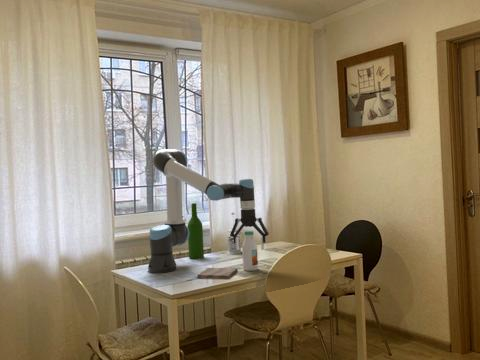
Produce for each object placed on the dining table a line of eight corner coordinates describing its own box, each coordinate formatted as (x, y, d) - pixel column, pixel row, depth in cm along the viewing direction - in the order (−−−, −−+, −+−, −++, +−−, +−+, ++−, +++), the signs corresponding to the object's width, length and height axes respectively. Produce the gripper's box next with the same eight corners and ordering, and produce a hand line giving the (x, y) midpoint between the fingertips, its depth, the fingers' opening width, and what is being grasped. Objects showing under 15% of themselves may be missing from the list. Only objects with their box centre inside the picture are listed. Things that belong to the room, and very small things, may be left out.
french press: (224, 252, 305) (222, 212, 304) (240, 250, 310) (239, 211, 309) (230, 254, 296) (228, 213, 295) (247, 252, 301) (245, 212, 300)
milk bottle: (247, 271, 248) (245, 232, 247) (240, 269, 255) (238, 231, 254) (260, 269, 251) (259, 231, 251) (253, 267, 258) (251, 229, 257)
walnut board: (197, 278, 240) (197, 275, 240) (208, 270, 255) (208, 267, 255) (228, 278, 235) (228, 275, 235) (237, 271, 251) (237, 268, 251)
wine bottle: (205, 255, 296) (202, 202, 295) (201, 258, 287) (199, 204, 286) (191, 256, 297) (188, 203, 296) (187, 259, 289) (184, 204, 287)
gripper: (222, 210, 252) (225, 251, 252) (269, 208, 245) (272, 250, 246) (226, 208, 259) (229, 248, 259) (272, 207, 252) (275, 248, 253)
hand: (250, 249), depth 253 cm, fingers open, 13 cm apart
